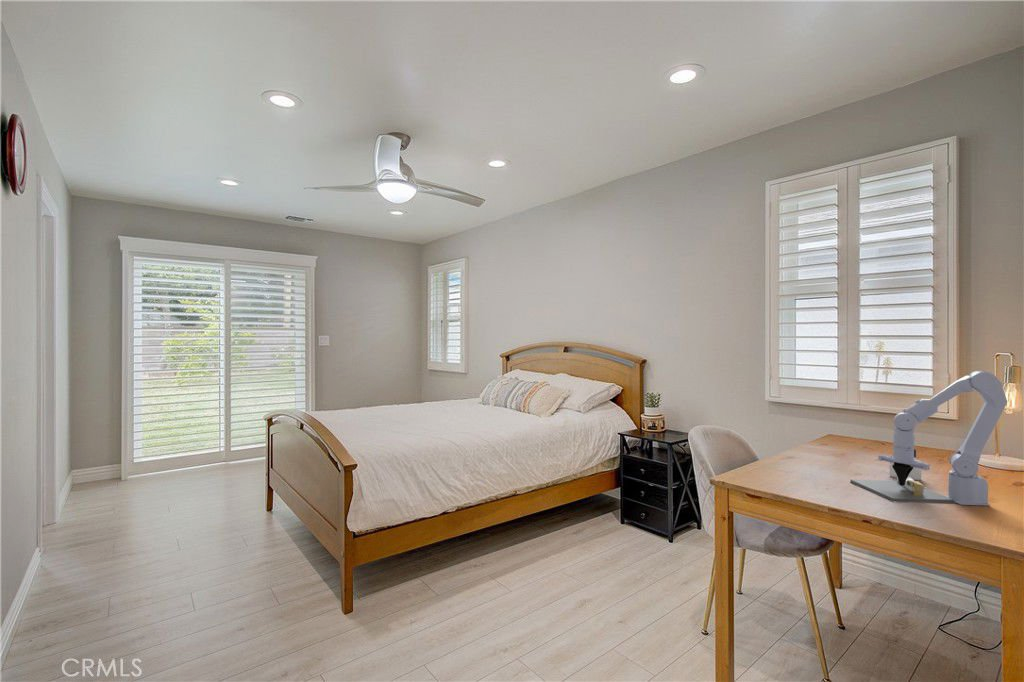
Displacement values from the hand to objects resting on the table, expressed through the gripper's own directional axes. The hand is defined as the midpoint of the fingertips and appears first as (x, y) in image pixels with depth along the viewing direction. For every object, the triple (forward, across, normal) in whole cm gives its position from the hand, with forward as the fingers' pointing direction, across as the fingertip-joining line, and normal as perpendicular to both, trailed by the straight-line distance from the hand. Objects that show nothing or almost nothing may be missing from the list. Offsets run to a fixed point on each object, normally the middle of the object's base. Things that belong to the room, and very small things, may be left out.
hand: (902, 485), depth 172 cm
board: (+2, 0, -1) cm, 3 cm away
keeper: (+1, +5, -3) cm, 6 cm away
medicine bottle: (+2, -8, +22) cm, 23 cm away
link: (+1, +1, +4) cm, 4 cm away
